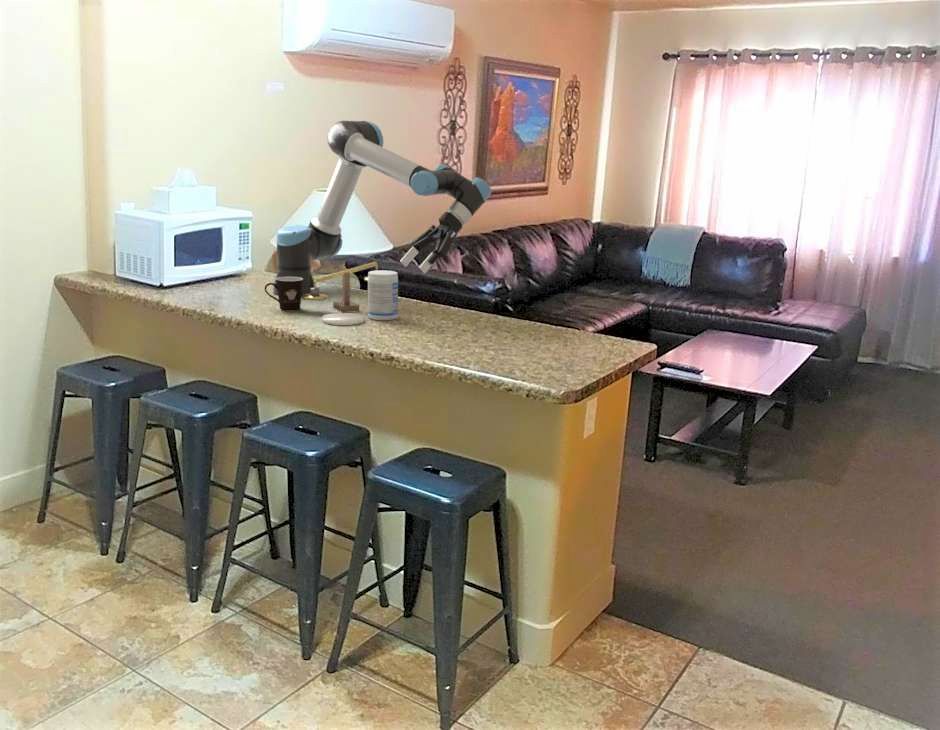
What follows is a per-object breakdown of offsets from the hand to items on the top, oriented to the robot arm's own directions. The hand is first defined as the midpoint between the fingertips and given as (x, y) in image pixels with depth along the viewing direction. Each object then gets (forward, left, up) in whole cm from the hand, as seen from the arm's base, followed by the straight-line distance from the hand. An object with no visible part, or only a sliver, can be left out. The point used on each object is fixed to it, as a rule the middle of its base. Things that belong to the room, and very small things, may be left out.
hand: (412, 267), depth 285 cm
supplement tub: (0, -10, -16) cm, 19 cm away
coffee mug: (-24, -34, -16) cm, 45 cm away
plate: (0, -23, -16) cm, 28 cm away
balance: (-16, -16, -16) cm, 28 cm away
